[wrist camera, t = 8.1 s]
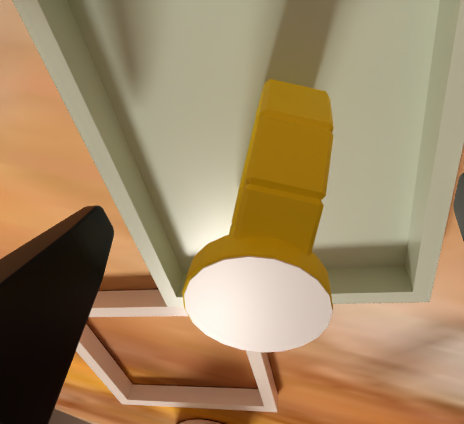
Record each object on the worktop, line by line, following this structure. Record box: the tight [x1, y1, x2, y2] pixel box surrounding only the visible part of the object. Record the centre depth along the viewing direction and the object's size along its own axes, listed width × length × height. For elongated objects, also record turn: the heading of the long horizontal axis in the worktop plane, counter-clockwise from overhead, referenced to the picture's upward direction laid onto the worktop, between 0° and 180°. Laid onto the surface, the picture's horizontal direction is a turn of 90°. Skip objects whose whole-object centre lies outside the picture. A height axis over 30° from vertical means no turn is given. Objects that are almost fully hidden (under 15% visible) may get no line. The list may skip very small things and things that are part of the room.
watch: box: [182, 79, 334, 352], centre depth 9 cm, size 6×3×6 cm, turn 170°
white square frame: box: [76, 289, 278, 412], centre depth 20 cm, size 10×10×1 cm
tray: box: [12, 0, 464, 307], centre depth 11 cm, size 10×12×2 cm
